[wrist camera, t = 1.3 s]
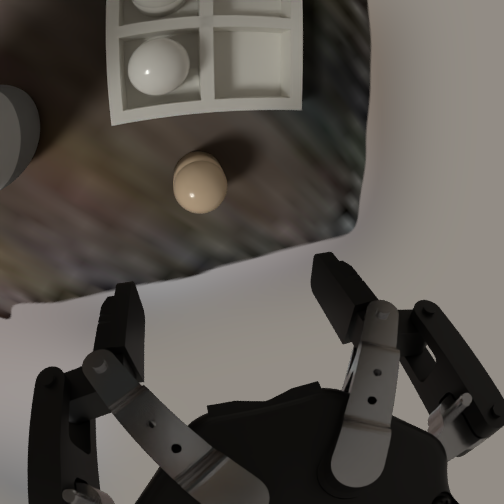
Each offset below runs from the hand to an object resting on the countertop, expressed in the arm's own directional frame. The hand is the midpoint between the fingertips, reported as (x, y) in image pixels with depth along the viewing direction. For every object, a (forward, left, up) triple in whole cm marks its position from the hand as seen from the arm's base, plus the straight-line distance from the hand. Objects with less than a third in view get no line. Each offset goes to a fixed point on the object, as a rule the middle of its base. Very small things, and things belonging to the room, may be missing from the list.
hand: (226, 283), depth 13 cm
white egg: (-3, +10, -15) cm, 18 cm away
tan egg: (0, 0, -16) cm, 16 cm away
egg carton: (+1, +17, -16) cm, 23 cm away
